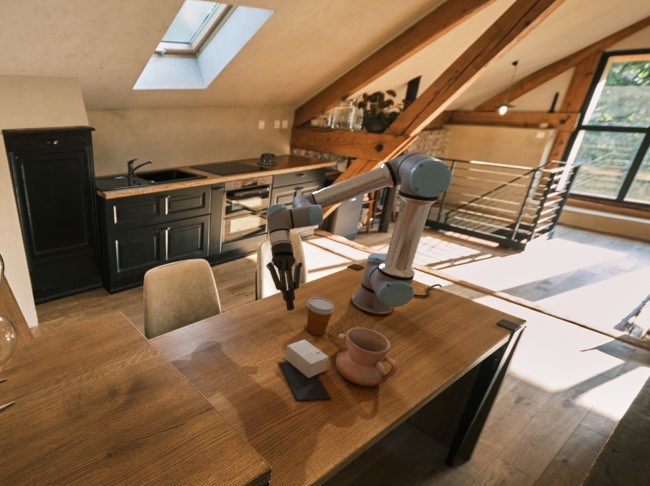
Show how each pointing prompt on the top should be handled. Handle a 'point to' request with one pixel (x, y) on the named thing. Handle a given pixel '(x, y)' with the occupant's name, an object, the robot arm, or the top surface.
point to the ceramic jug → (364, 357)
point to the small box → (306, 358)
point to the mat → (303, 384)
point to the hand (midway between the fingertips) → (290, 309)
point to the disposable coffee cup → (318, 314)
